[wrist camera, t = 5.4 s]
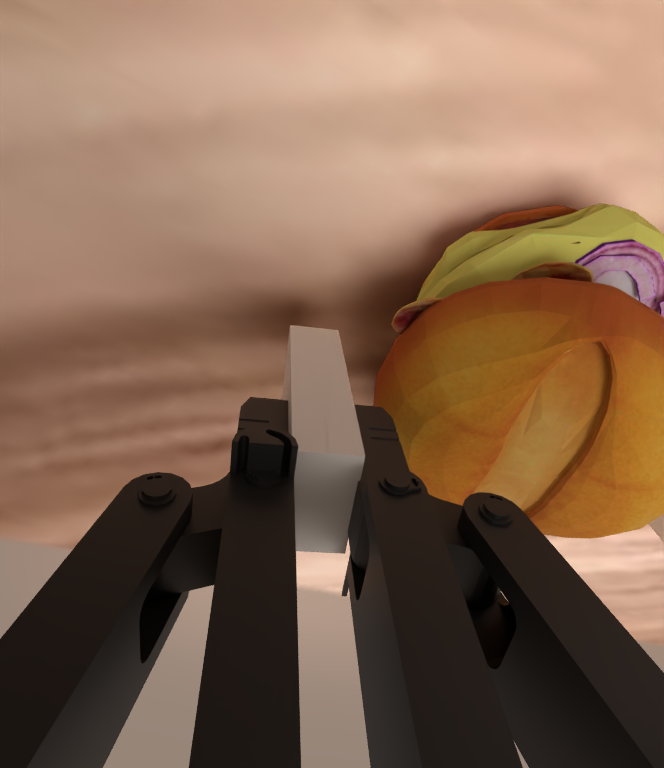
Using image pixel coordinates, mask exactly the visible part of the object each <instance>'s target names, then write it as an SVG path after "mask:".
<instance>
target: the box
mask: <svg viewBox="0 0 664 768" xmlns="http://www.w3.org/2000/svg"><path fill="white" fill-rule="evenodd" d="M648 524H649V525H650V526H651V528H652V529H653V530H654V531H655V532H656V534H657V535H658V536H659V537H660V538H661V540H662V541H663V542H664V514H663V515H661V516H660V517H658V518H657V519H655V520H653V521H652V522H650V523H648Z"/></svg>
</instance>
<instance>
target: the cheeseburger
mask: <svg viewBox="0 0 664 768" xmlns="http://www.w3.org/2000/svg"><path fill="white" fill-rule="evenodd" d="M391 325H392V327H393V328H394V330H395V331H396V332H398V333H401V335H400V336H399V337H398V338H397V339H396V340H395V342H394V344H393V346H392V348H391V349H390V351H389V353H388V355H387V357H386V359H385V361H384V363H383V364H382V366H381V368H380V370H379V372H378V374H377V376H376V384H375V395H374V406H375V407H382V408H383V409H384V410H385V411H386V412H387V413H388V414H389V415H390V416H391V417H392V418H393V420H394V424H395V427H396V432H397V433H398V436H399V441H400V442H401V445H402V449H403V452H404V455H405V458H406V461H407V464H408V467H409V470H410V472H412V473H414V474H415V475H416V476H418V477H419V478H420V479H421V480H422V481H423V483H424V484H425V486H426V488H427V491H428V494H430V495H432V496H434V497H436V498H439V499H442V500H444V501H448V502H451V503H455V504H458V505H462V506H463V503H464V500H465V499H466V498H467V497H468V496H469V495H471V494H474V493H478V492H486V493H493V494H496V495H500V496H503V497H504V498H506V499H508V500H510V501H512V502H513V503H515V504H516V505H517V506H518V507H519V508H520V509H522V511H523V512H524V513H525V514H526V515H527V516H528V517H529V519H530V520H531V521H532V522H533V523H534V524H535V526H536V527H537V528H538V529H539V530H540V531H541V532H542V534H543V535H552V536H559V537H567V538H598V537H605V536H609V535H614V534H618V533H623V532H628V531H632V530H637V529H640V528H642V527H644V526H645V525H647V524H648V523H650V522H652V521H653V520H655V519H657V518H658V517H660V516H661V515H663V514H664V235H663V234H662V233H661V232H660V231H659V230H658V229H657V228H656V227H654V226H653V225H652V224H650V223H649V222H648V221H646V220H645V219H644V218H643V217H641V216H640V215H639V214H637V213H636V212H634V211H630V210H627V209H624V208H621V207H618V206H615V205H607V204H598V205H593V206H590V207H587V208H584V209H581V210H576V209H571V208H567V207H562V206H551V207H544V208H538V209H531V210H524V211H517V212H510V213H504V214H502V215H500V216H498V217H497V218H495V219H493V220H491V221H490V222H488V223H486V224H484V225H483V226H481V227H479V228H478V229H476V230H474V231H472V232H469V233H468V234H466V235H465V236H463V237H462V238H460V239H459V240H457V241H455V242H454V243H453V244H451V245H450V246H448V247H447V248H446V250H445V252H444V254H443V256H442V258H441V259H440V260H439V261H438V263H437V264H436V266H435V267H434V269H433V270H432V272H431V273H430V274H429V276H428V277H427V278H426V279H425V281H424V282H423V284H422V287H421V291H420V293H419V296H418V298H417V300H416V302H413V303H410V304H408V305H406V306H403V307H402V308H401V309H399V310H398V311H397V313H396V314H395V316H394V318H393V320H392V323H391Z"/></svg>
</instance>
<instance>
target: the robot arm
mask: <svg viewBox="0 0 664 768" xmlns="http://www.w3.org/2000/svg"><path fill="white" fill-rule="evenodd" d="M348 537H349V545H350V557H349V562H348V566H347V571H346V576H345V580H344V585H343V591H342V596H347V593H348V588H349V592H350V600H351V609H352V616H353V625H354V633H355V642H356V649H357V657H358V666H359V675H360V683H361V691H362V699H363V708H364V716H365V724H366V732H367V740H368V749H369V757H370V765H371V768H523V767H522V764H521V761H520V758H519V755H518V752H517V749H516V747H515V744H514V742H515V743H516V745H517V747H518V749H519V751H520V752H521V754H522V756H523V758H524V759H525V761H526V763H527V765H528V766H529V768H664V673H663V672H662V670H660V668H659V667H658V666H657V665H656V664H655V662H654V661H653V660H652V659H651V658H650V657H649V655H648V654H647V653H646V652H645V651H644V650H643V649H642V647H641V646H640V645H639V644H638V643H637V642H636V640H635V639H634V638H633V637H632V636H631V635H630V634H629V632H628V631H627V630H626V629H625V628H624V627H623V626H622V624H621V623H620V622H619V621H618V620H617V619H616V617H615V616H614V615H613V614H612V613H611V612H610V611H609V609H608V608H607V607H606V606H605V605H604V604H603V603H602V601H601V600H600V599H599V598H598V597H597V596H596V594H595V593H594V592H593V591H592V590H591V589H590V588H589V586H588V585H587V584H586V583H585V582H584V581H583V580H582V578H581V577H580V576H579V575H578V574H577V573H576V571H575V570H574V569H573V568H572V567H571V566H570V565H569V563H568V562H567V561H566V560H565V559H564V558H563V557H562V555H561V554H560V553H559V552H558V551H557V550H556V548H555V547H554V546H553V545H552V544H551V543H550V542H549V540H548V539H547V538H546V537H545V536H544V535H543V534H542V532H541V531H540V530H539V529H538V528H537V527H536V526H535V524H534V523H533V522H532V521H531V520H530V519H529V517H528V516H527V515H526V514H525V513H524V512H523V511H522V509H520V508H519V507H518V506H517V505H516V504H515V503H513V502H512V501H510V500H508V499H506V498H504V497H503V496H500V495H496V494H493V493H486V492H478V493H474V494H471V495H469V496H468V497H467V498H466V499H465V500H464V503H463V506H462V505H458V504H455V503H451V502H448V501H444V500H442V499H439V498H436V497H434V496H432V495H430V494H428V491H427V488H426V486H425V484H424V483H423V481H422V480H421V479H420V478H419V477H418V476H416V475H415V474H414V473H412V472H410V470H409V467H408V464H407V461H406V458H405V455H404V452H403V449H402V445H401V442H400V441H399V436H398V433H397V432H396V427H395V424H394V420H393V418H392V417H391V416H390V415H389V414H388V413H387V412H386V411H385V410H384V409H383V408H382V407H375V406H364V405H354V401H353V396H352V392H351V387H350V382H349V377H348V373H347V368H346V363H345V359H344V354H343V349H342V344H341V340H340V335H339V330H333V329H323V328H314V327H304V326H295V325H290V331H289V340H288V349H287V357H286V366H285V375H284V384H283V392H282V400H278V399H266V398H255V397H250V398H249V399H248V400H247V401H246V402H245V403H244V404H243V405H242V406H241V410H240V417H239V424H238V431H237V434H236V435H235V437H234V439H233V441H232V451H231V465H230V472H229V473H228V474H227V476H225V477H224V478H223V479H221V480H220V481H217V482H215V483H213V484H210V485H206V486H201V487H195V488H191V486H190V484H189V483H188V482H187V481H186V480H185V479H183V478H182V477H179V476H177V475H174V474H171V473H160V472H157V473H150V474H144V475H142V476H140V477H137V478H135V479H133V480H131V481H130V482H129V483H128V484H127V485H125V486H124V487H123V489H122V490H121V491H120V492H119V494H118V495H117V496H116V497H115V498H114V500H113V501H112V502H111V503H110V505H109V506H108V507H107V508H106V510H105V511H104V512H103V513H102V514H101V516H100V517H99V518H98V519H97V521H96V522H95V523H94V524H93V526H92V527H91V528H90V529H89V530H88V532H87V533H86V534H85V535H84V537H83V538H82V539H81V540H80V542H79V543H78V544H77V545H76V546H75V548H74V549H73V550H72V551H71V553H70V554H69V555H68V556H67V558H66V559H65V560H64V561H63V562H62V564H61V565H60V566H59V567H58V569H57V570H56V571H55V572H54V574H53V575H52V576H51V577H50V578H49V580H48V581H47V582H46V584H45V585H44V586H43V587H42V588H41V590H40V591H39V592H38V593H37V595H36V596H35V597H34V598H33V599H32V601H31V602H30V603H29V604H28V606H27V607H26V608H25V609H24V611H23V612H22V613H21V614H20V616H19V617H18V618H17V619H16V621H15V622H14V623H13V624H12V625H11V627H10V628H9V629H8V630H7V631H6V633H5V634H4V635H3V636H2V638H1V639H0V768H103V766H104V764H105V762H106V760H107V758H108V756H109V754H110V752H111V750H112V748H113V746H114V744H115V742H116V740H117V738H118V736H119V734H120V732H121V730H122V728H123V726H124V724H125V722H126V720H127V718H128V716H129V714H130V712H131V710H132V708H133V706H134V704H135V702H136V700H137V698H138V696H139V694H140V692H141V690H142V688H143V685H144V684H145V682H146V680H147V678H148V676H149V674H150V672H151V670H152V668H153V666H154V664H155V662H156V660H157V658H158V656H159V654H160V652H161V650H162V648H163V646H164V644H165V642H166V640H167V637H168V636H169V634H170V632H171V630H172V628H173V626H174V623H175V622H176V620H177V618H178V616H179V614H180V612H181V610H182V608H183V605H184V604H185V602H186V600H187V597H188V593H189V591H190V590H194V589H198V588H202V587H206V586H211V585H214V592H213V599H212V606H211V614H210V620H209V628H208V635H207V641H206V649H205V656H204V663H203V670H202V677H201V685H200V691H199V699H198V706H197V713H196V720H195V728H194V734H193V741H192V749H191V756H190V763H189V768H301V750H300V710H299V709H300V708H299V666H298V625H297V583H296V551H305V552H326V553H345V551H346V546H347V541H348ZM500 591H502V593H503V594H504V596H505V597H506V599H507V600H508V601H507V600H506V599H505V597H504V596H503V595H502V593H501V592H500ZM513 740H514V741H513Z"/></svg>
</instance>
